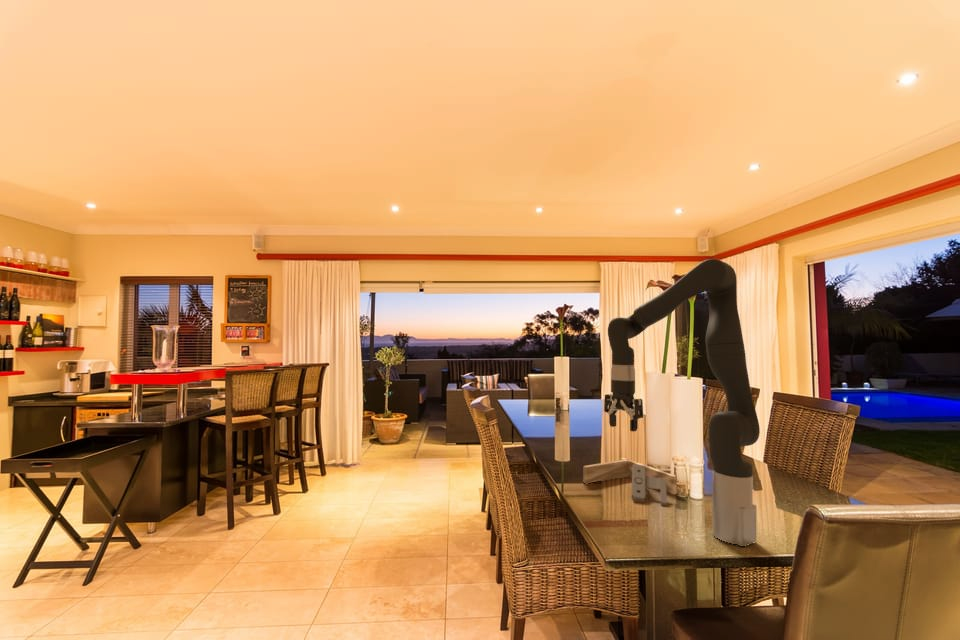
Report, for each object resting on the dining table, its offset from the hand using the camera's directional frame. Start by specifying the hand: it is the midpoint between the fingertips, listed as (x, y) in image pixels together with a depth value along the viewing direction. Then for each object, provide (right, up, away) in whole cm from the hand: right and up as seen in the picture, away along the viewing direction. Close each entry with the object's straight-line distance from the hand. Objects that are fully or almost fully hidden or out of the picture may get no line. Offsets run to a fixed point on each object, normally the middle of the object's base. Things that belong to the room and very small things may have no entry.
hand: (622, 428), depth 141 cm
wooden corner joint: (+5, -23, +11) cm, 26 cm away
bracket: (+10, -24, +4) cm, 26 cm away
